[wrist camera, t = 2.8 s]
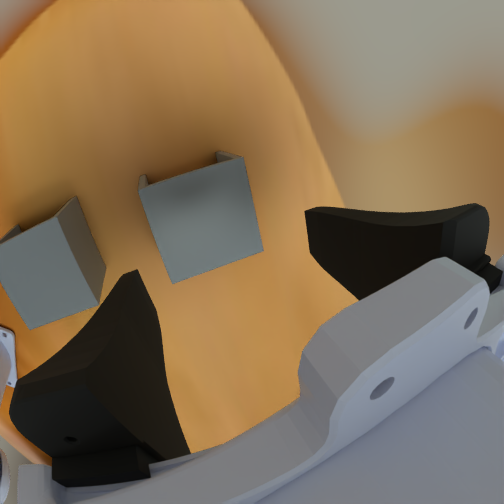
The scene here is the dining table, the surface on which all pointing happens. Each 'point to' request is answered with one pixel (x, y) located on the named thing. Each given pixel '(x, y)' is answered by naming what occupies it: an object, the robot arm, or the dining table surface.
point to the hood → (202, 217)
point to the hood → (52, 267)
